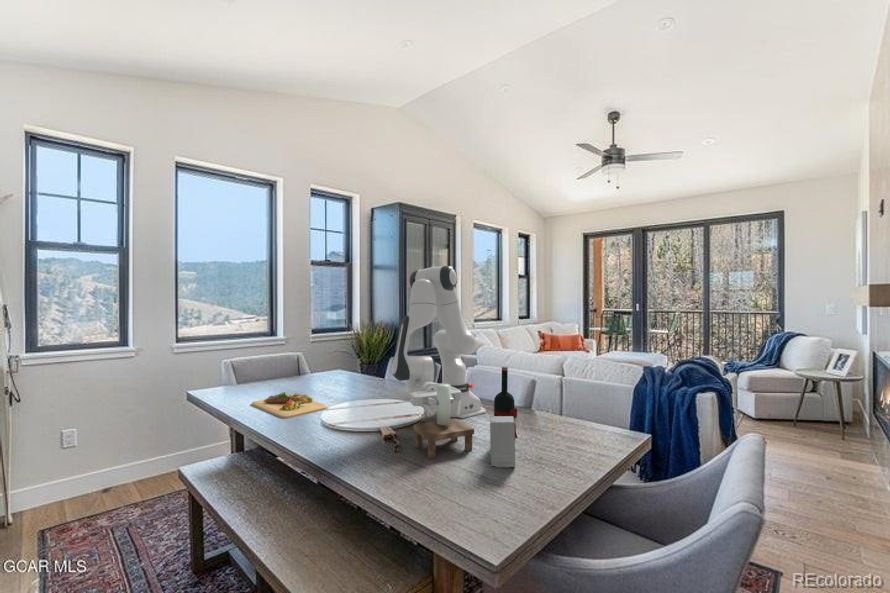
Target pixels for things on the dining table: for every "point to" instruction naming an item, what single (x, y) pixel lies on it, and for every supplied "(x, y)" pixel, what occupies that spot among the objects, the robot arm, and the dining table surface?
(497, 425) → the skincare box
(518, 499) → the dining table surface
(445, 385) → the pale green cylinder
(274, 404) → the cutting board
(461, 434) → the walnut stool
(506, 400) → the wine bottle
